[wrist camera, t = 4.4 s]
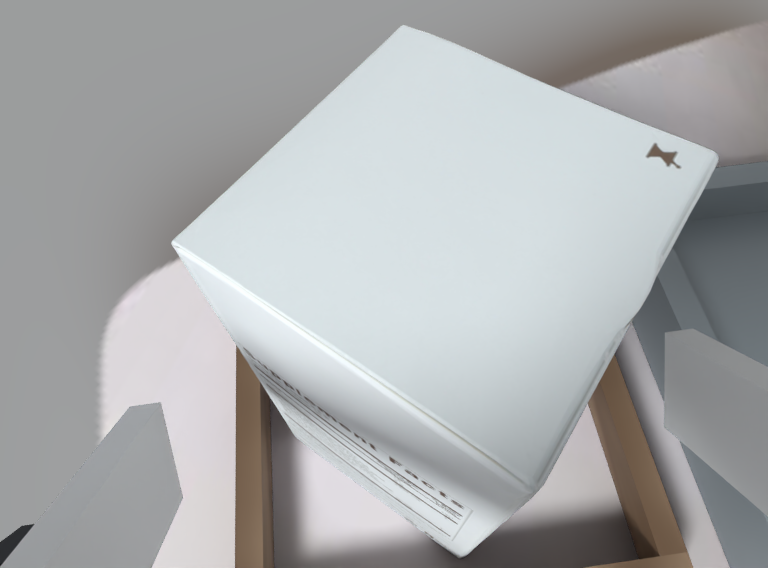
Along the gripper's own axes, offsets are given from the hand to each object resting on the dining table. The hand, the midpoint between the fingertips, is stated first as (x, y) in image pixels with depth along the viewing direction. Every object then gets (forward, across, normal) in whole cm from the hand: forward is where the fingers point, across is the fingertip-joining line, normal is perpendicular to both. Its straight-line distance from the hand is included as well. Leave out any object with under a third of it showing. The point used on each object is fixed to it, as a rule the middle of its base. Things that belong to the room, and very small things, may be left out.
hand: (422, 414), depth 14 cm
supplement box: (+10, +1, -5) cm, 11 cm away
